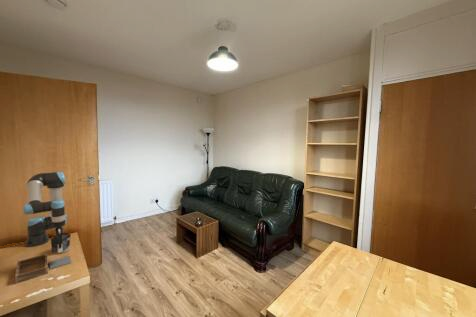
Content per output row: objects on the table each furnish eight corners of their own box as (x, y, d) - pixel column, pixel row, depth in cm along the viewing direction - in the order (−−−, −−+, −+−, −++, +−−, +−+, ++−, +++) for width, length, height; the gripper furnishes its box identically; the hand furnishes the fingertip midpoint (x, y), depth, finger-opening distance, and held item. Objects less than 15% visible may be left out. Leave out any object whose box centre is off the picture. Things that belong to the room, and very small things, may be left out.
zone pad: (49, 262, 156) (49, 261, 156) (69, 256, 165) (69, 255, 165) (50, 269, 148) (50, 268, 148) (71, 263, 156) (71, 262, 156)
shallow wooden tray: (18, 267, 149) (17, 261, 148) (47, 259, 159) (46, 253, 159) (15, 283, 133) (15, 276, 132) (47, 273, 143) (47, 267, 143)
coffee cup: (53, 252, 170) (52, 235, 169) (67, 247, 179) (67, 230, 177) (59, 255, 165) (58, 238, 164) (73, 250, 174) (72, 233, 173)
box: (68, 247, 159) (67, 234, 158) (62, 251, 153) (61, 238, 152) (57, 248, 158) (56, 235, 157) (51, 252, 152) (50, 238, 151)
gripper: (51, 217, 159) (52, 245, 161) (52, 226, 143) (53, 257, 145) (63, 215, 164) (65, 242, 166) (66, 223, 149) (67, 253, 150)
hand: (59, 249), depth 155 cm, fingers closed on box, 9 cm apart
